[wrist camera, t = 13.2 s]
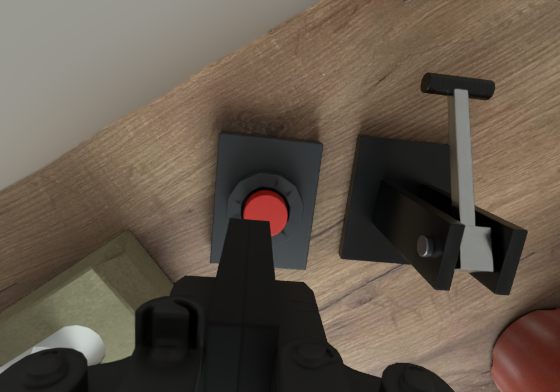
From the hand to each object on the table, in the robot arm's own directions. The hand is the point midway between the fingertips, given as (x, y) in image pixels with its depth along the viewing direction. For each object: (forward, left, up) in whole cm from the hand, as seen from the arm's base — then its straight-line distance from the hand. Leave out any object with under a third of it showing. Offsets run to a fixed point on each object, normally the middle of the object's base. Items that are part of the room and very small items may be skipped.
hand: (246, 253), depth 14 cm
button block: (+3, +1, -21) cm, 21 cm away
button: (+3, +1, -17) cm, 18 cm away
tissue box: (+17, -15, -21) cm, 31 cm away
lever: (-2, +14, -13) cm, 19 cm away
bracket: (+2, +14, -21) cm, 26 cm away
